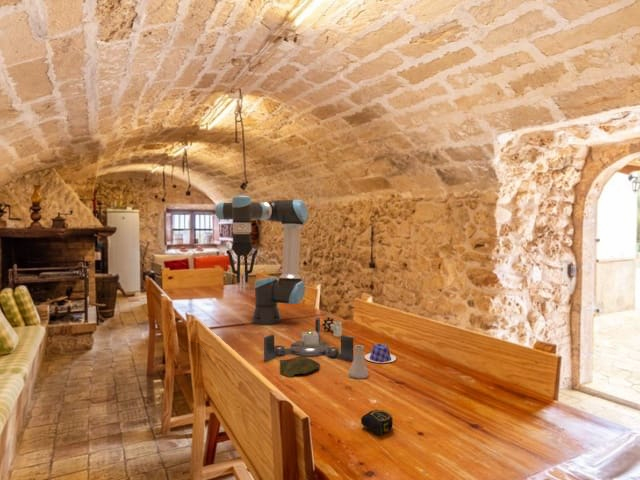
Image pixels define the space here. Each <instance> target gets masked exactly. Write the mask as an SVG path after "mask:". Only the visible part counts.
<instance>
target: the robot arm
mask: <svg viewBox="0 0 640 480" xmlns="http://www.w3.org/2000/svg"><path fill="white" fill-rule="evenodd" d="M214 209H215V211H214V213H215V217H216V218H217V219H219V220H232V233H233V234H232V245H231V247H230V248H229V249H227V250H226V254H227V256H228V259H229V263H230V268H231V272H232V274H235V275H236V283H237V284H238V283H239V291H240V292H242V291H243V292H246V283H248V282H249V274H252V273H253V269H254V265H255V259H256V256H257V254H258V253H259V252H258V251H259V250H258V249H255V248H254V247H253V245H252V234H251V233H252V220H257V221H258V220H261V221H266V222H267V221H268V222H269V221H270V222H276V223H281V224H280V225H281V226H282V228H283V247H282V248H283V249H282V250H283V251H282V268H281V269H282V270H281V271H282V274H280V276H279V277H275V276H272V277H264V278H259V279H256V280H255V282H254V283H255V284H254V300H255V301H254V302H255V304H254V306H255V307H254V310H253V314H252V317H251V323H253V324H255V325H264V326H265V325H275V324H279V323H280V322H281V321H282V317H281V314H280V311H279V308H278V304H289V305H298V304H300V303H302V301H303V299H304V297H305V293H306V284H305V282H304V281H302V277H301V275H299V274H300V251H301V250H300V248H301V247H300V246H301V229H302V228H303V227H304V225H305V224H304V223H306V222H307V221H308V219H309V211H308V207H307V204H306V202H304V200H301V199H282V200H281V199H276V200H270V201H261V202H259V201H252V198H251V196H249V195H235V196H232V202H219V203H217V204H216V206H215V208H214ZM233 252H234V254H235V255H236V257H237V258H236V259H237V261H236V266H235V263H234V258H233ZM250 253H251V254H252V256H251V261H250V265H249V264H248V256H249V254H250ZM241 257H244V258H243V260H244V261H243V262H244V274H242V273H241ZM248 265H249V268H248ZM235 267H236V268H235Z"/></svg>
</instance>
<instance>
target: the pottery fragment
mask: <svg viewBox="0 0 640 480" xmlns="http://www.w3.org/2000/svg"><path fill="white" fill-rule="evenodd" d="M320 367H321V364H320V363H319V362H318V361H315V360H314V359H311V358H309V357H304V356H296V357H292V358H289V359H280V360H279V369H280V370H279V371H280V372H279V373H280V375H282V376H285V377H288V378H290V379H291V378H292V377H293V376H295V375H302V374H304V375H306V374H309V373H311V372H313V371H315V370H318V369H319V368H320Z"/></svg>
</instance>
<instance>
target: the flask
mask: <svg viewBox="0 0 640 480" xmlns="http://www.w3.org/2000/svg"><path fill="white" fill-rule="evenodd" d="M353 349H354V355H353V361H352V362H351V366H350V368H349V371H348V377H350V378H353V379H366V378H368V377H369V376H370V374H369V371H368V367H367V365H366V361H365V357H364V350H363V349H364V345H360V344H358V345H357V344H356V345H353Z"/></svg>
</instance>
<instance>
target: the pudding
mask: <svg viewBox="0 0 640 480" xmlns="http://www.w3.org/2000/svg"><path fill="white" fill-rule="evenodd" d="M396 359H397V357H396V356H395V355H394V354H391V353H390V349H389V346H388V345H387V344H383V343H375V344H373V345H372V348H371V351H370V352H369V353H367V354H365V355H364V360H367V361H369V362H372V363H379V364H380V363H381V364H384V363H391V362H394V361H396Z"/></svg>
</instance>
